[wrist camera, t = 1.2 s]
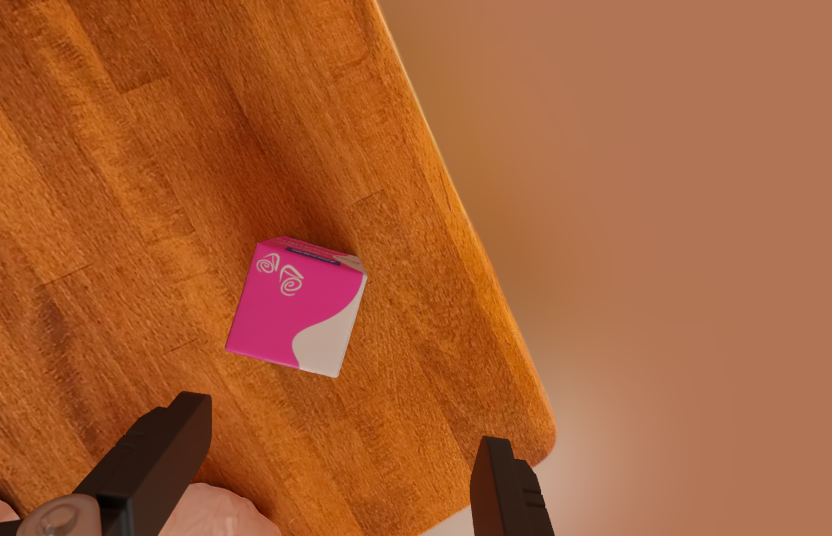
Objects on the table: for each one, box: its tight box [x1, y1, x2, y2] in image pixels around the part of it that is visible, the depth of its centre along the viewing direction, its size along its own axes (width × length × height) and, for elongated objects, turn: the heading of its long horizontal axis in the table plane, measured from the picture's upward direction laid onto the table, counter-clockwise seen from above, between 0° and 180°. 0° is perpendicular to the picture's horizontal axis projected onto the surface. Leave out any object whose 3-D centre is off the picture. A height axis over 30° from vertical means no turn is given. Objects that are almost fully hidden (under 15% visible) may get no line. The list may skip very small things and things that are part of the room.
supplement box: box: [225, 235, 368, 378], centre depth 27 cm, size 6×6×12 cm
